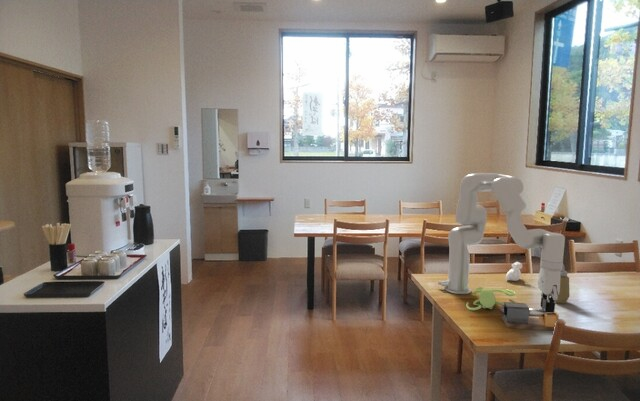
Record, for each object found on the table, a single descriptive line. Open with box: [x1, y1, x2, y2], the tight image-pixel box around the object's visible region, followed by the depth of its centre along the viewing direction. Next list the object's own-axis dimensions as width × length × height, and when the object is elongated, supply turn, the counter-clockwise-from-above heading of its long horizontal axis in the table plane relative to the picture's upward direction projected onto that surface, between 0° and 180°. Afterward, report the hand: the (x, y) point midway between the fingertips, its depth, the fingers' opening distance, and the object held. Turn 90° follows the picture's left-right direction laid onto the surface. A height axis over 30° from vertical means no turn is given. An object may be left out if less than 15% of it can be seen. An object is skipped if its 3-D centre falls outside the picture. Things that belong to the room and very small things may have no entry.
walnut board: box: [501, 315, 555, 332], centre depth 168 cm, size 19×9×1 cm, turn 82°
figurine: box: [465, 286, 516, 313], centre depth 190 cm, size 18×27×6 cm
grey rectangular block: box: [529, 297, 554, 318], centre depth 167 cm, size 12×4×7 cm, turn 82°
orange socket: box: [538, 310, 560, 327], centre depth 167 cm, size 4×7×5 cm, turn 172°
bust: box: [505, 261, 523, 282], centre depth 224 cm, size 12×8×11 cm
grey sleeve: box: [502, 301, 530, 324], centre depth 168 cm, size 8×5×7 cm, turn 82°
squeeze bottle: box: [550, 263, 570, 304], centre depth 193 cm, size 8×8×18 cm
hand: (547, 309), depth 166 cm, fingers closed on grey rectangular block, 4 cm apart
